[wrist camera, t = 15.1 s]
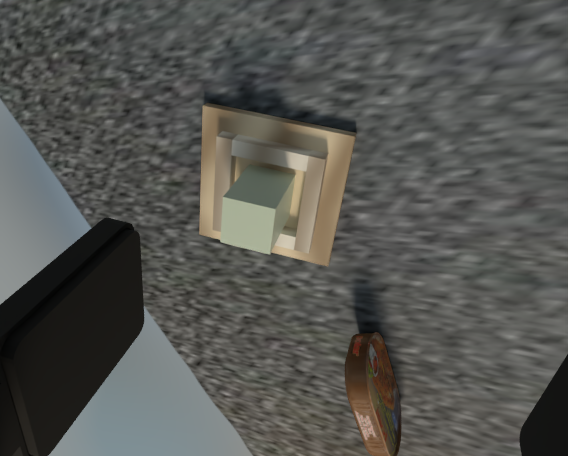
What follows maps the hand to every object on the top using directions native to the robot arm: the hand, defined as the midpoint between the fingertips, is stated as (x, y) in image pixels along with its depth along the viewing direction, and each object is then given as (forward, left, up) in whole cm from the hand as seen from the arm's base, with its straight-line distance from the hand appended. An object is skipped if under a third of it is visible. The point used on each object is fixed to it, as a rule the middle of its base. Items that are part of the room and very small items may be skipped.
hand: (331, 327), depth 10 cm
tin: (-6, +34, -33) cm, 47 cm away
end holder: (+9, +14, -32) cm, 36 cm away
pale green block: (+9, +14, -31) cm, 35 cm away
